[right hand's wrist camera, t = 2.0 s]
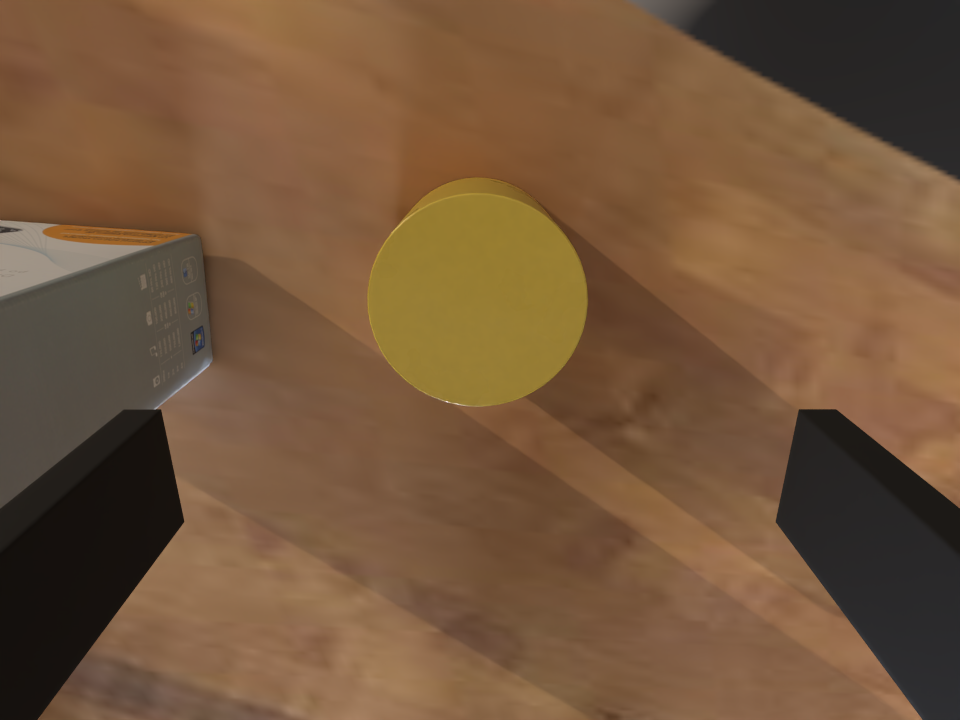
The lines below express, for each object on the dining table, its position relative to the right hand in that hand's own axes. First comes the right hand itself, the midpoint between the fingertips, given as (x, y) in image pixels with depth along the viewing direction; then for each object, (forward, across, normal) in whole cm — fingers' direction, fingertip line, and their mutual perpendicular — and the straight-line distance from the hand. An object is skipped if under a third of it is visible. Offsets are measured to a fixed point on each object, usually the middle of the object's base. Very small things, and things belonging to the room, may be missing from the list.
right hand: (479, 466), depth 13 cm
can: (+22, 0, 0) cm, 22 cm away
